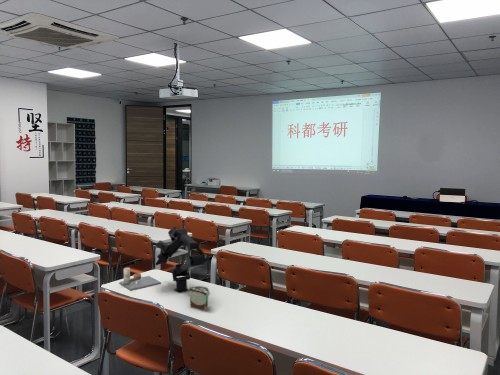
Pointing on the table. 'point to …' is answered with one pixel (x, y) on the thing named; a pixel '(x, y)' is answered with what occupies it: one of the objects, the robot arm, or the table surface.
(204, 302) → the food container
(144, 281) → the grey flat slab
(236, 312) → the table surface
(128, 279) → the tuning peg
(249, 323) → the table surface
